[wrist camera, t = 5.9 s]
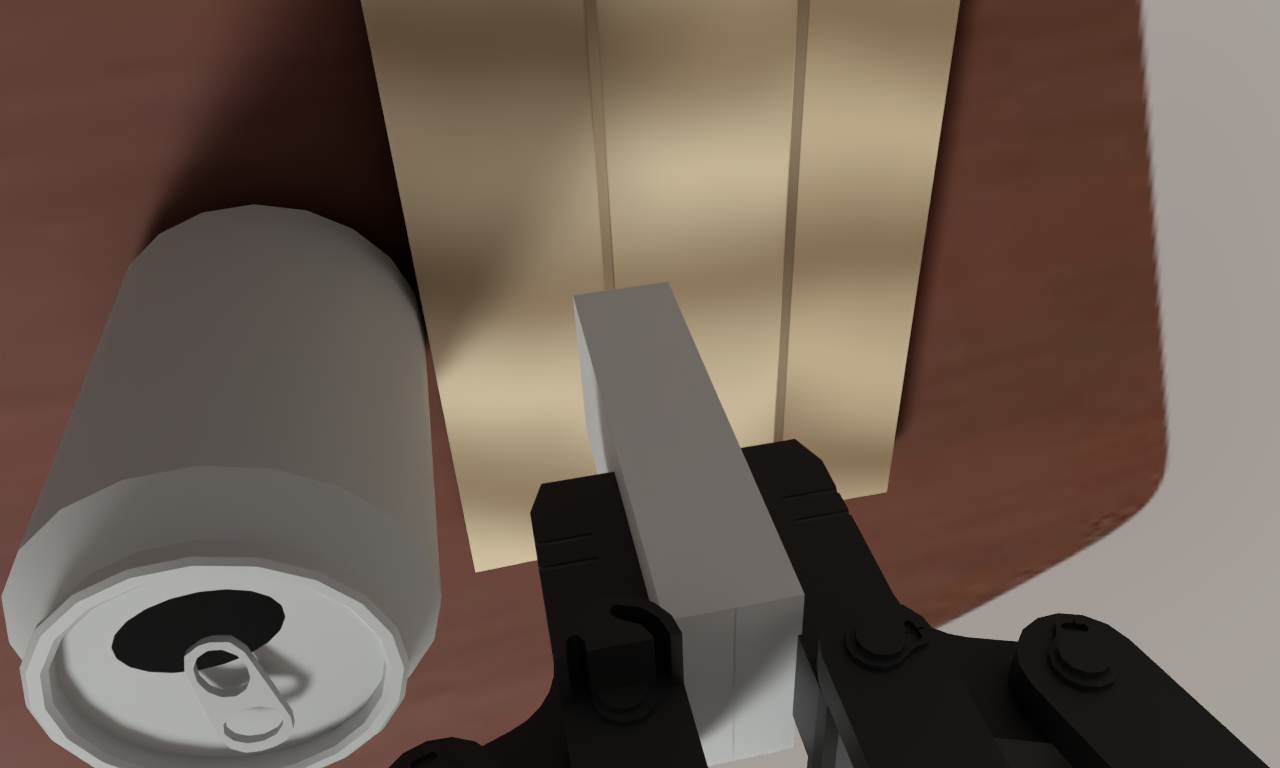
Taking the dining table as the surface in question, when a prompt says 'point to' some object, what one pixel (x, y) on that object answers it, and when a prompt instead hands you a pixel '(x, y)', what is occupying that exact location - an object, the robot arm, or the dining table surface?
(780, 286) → the plank
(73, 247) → the dining table surface
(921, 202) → the laid board
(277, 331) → the can
